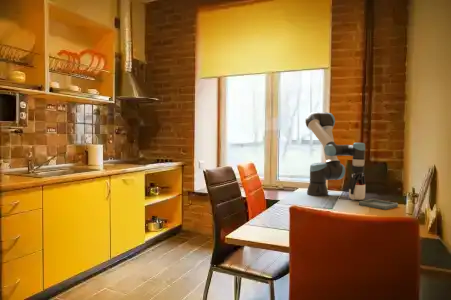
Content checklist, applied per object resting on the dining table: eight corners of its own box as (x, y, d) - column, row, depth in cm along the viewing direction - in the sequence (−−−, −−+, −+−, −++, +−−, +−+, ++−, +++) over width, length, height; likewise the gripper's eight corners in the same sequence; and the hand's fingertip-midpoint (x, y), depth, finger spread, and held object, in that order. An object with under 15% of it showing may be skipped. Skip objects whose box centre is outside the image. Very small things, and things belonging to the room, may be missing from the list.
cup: (366, 200, 217) (366, 185, 217) (350, 199, 219) (350, 184, 219) (363, 197, 227) (363, 183, 227) (347, 196, 229) (348, 182, 229)
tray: (358, 205, 208) (358, 201, 208) (372, 202, 218) (372, 198, 218) (384, 210, 195) (385, 206, 195) (397, 206, 205) (398, 203, 205)
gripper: (354, 167, 212) (352, 201, 213) (372, 165, 226) (370, 197, 227) (343, 165, 218) (342, 199, 219) (361, 164, 232) (360, 195, 233)
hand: (356, 198), depth 223 cm, fingers closed on cup, 10 cm apart
